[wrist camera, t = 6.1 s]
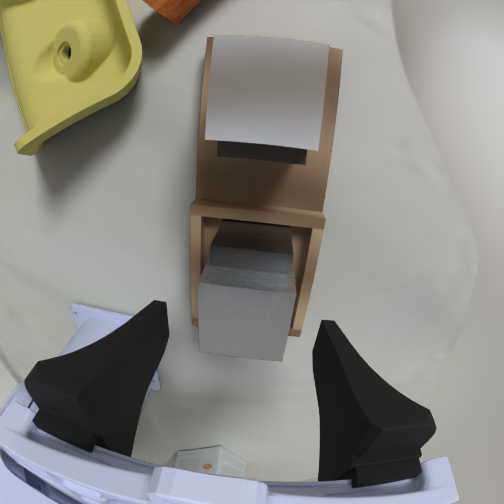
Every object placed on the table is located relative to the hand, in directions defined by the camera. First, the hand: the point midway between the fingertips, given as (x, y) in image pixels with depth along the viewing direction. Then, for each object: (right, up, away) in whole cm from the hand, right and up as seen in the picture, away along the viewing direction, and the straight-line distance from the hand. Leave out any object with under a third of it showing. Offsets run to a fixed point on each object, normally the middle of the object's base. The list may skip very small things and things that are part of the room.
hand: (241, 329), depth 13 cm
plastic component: (-13, +21, -1) cm, 24 cm away
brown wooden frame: (+1, +7, +4) cm, 8 cm away
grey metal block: (0, +3, +5) cm, 6 cm away
